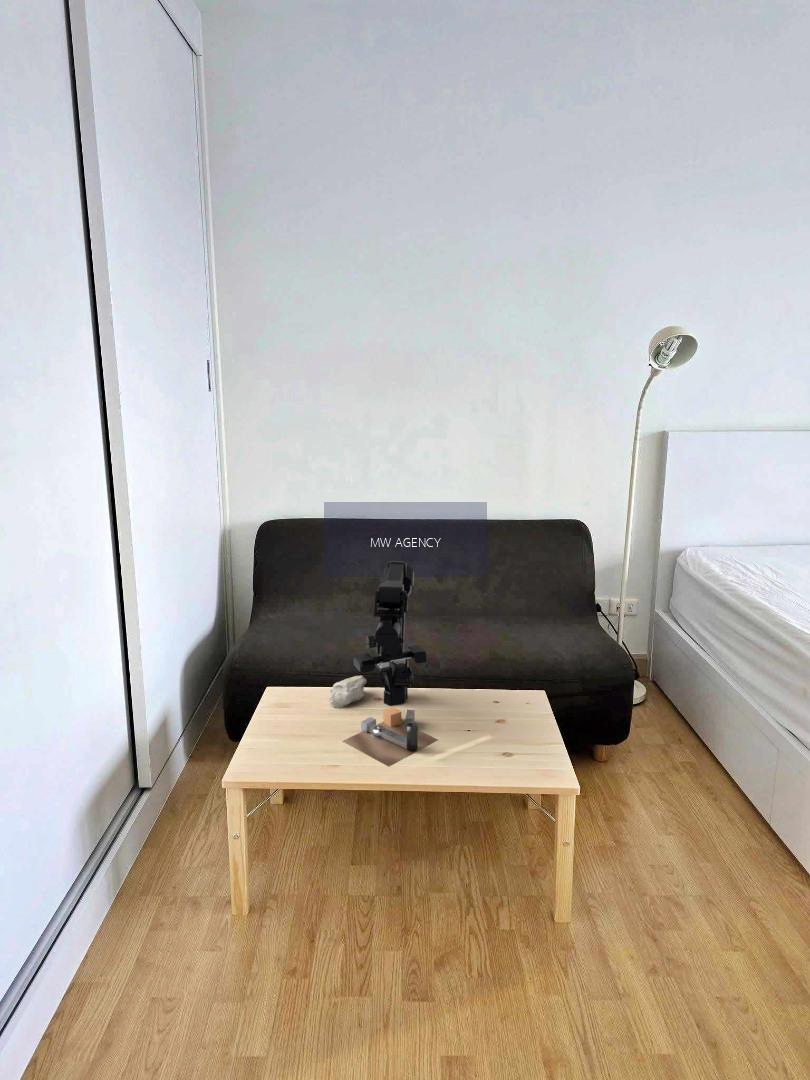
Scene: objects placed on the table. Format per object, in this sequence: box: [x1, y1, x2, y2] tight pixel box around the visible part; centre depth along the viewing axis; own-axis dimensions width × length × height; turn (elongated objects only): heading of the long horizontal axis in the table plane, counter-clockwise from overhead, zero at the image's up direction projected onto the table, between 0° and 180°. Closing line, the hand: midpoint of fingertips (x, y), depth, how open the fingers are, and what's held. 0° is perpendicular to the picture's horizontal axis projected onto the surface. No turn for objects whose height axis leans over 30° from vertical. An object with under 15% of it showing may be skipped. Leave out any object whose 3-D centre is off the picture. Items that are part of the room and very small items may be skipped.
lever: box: [360, 716, 419, 751], centre depth 187 cm, size 4×17×6 cm, turn 49°
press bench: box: [342, 709, 439, 768], centre depth 188 cm, size 20×17×4 cm
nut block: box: [382, 706, 402, 727], centre depth 196 cm, size 4×4×4 cm
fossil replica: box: [328, 675, 368, 709], centre depth 209 cm, size 12×8×10 cm
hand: (390, 688), depth 192 cm, fingers closed
